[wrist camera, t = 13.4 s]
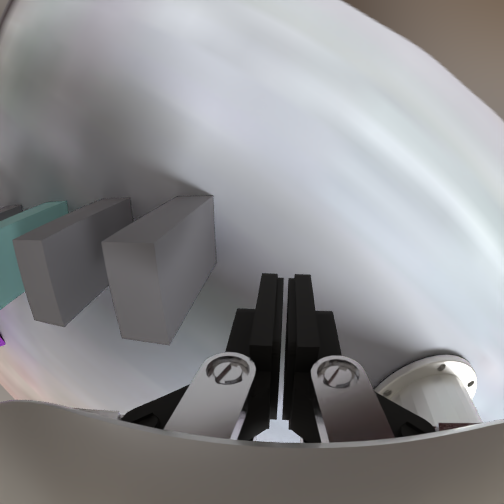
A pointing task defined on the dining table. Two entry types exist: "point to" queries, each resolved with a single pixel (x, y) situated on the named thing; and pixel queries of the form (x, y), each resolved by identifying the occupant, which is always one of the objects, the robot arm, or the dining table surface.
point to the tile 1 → (9, 211)
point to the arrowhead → (1, 342)
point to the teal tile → (3, 254)
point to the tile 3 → (160, 267)
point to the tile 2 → (69, 259)
